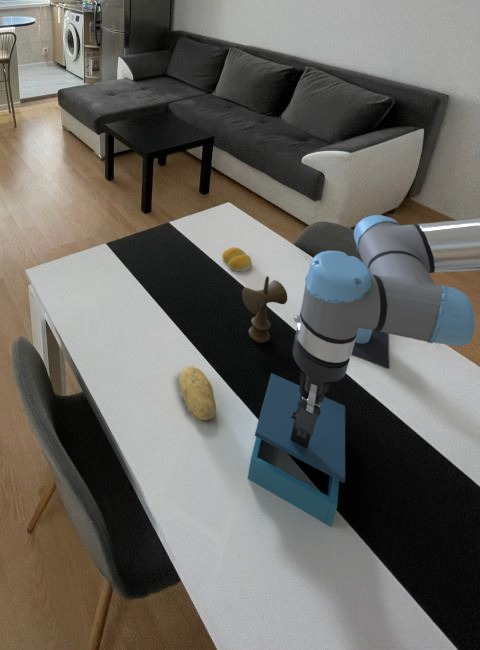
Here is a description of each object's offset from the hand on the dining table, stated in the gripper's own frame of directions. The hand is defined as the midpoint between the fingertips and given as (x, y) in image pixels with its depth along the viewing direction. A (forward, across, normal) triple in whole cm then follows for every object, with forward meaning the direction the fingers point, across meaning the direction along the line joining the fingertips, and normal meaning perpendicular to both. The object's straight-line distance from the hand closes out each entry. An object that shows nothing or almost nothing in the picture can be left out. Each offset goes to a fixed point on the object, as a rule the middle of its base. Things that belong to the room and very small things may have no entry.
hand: (299, 440), depth 75 cm
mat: (+15, -45, +9) cm, 48 cm away
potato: (+15, -7, -20) cm, 26 cm away
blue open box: (+15, -6, 0) cm, 16 cm away
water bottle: (+14, -45, +9) cm, 48 cm away
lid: (+3, -6, 0) cm, 7 cm away
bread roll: (+15, -57, -24) cm, 64 cm away
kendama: (+15, -32, -12) cm, 37 cm away
